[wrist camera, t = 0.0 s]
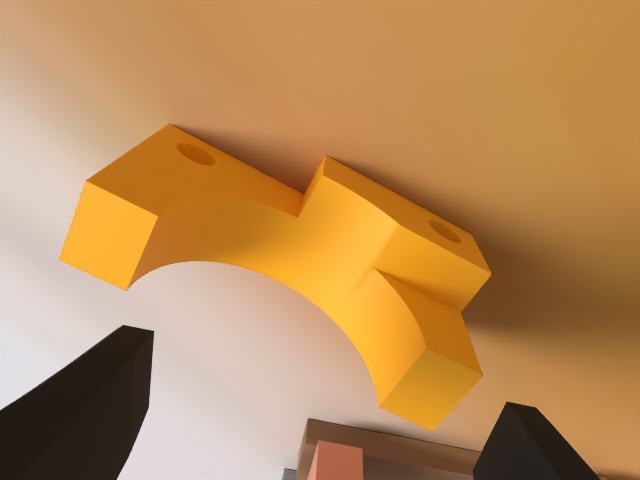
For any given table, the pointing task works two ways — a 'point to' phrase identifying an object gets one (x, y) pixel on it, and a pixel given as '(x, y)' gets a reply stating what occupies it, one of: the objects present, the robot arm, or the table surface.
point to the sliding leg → (336, 462)
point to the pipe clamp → (299, 255)
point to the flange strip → (289, 475)
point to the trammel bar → (390, 454)
